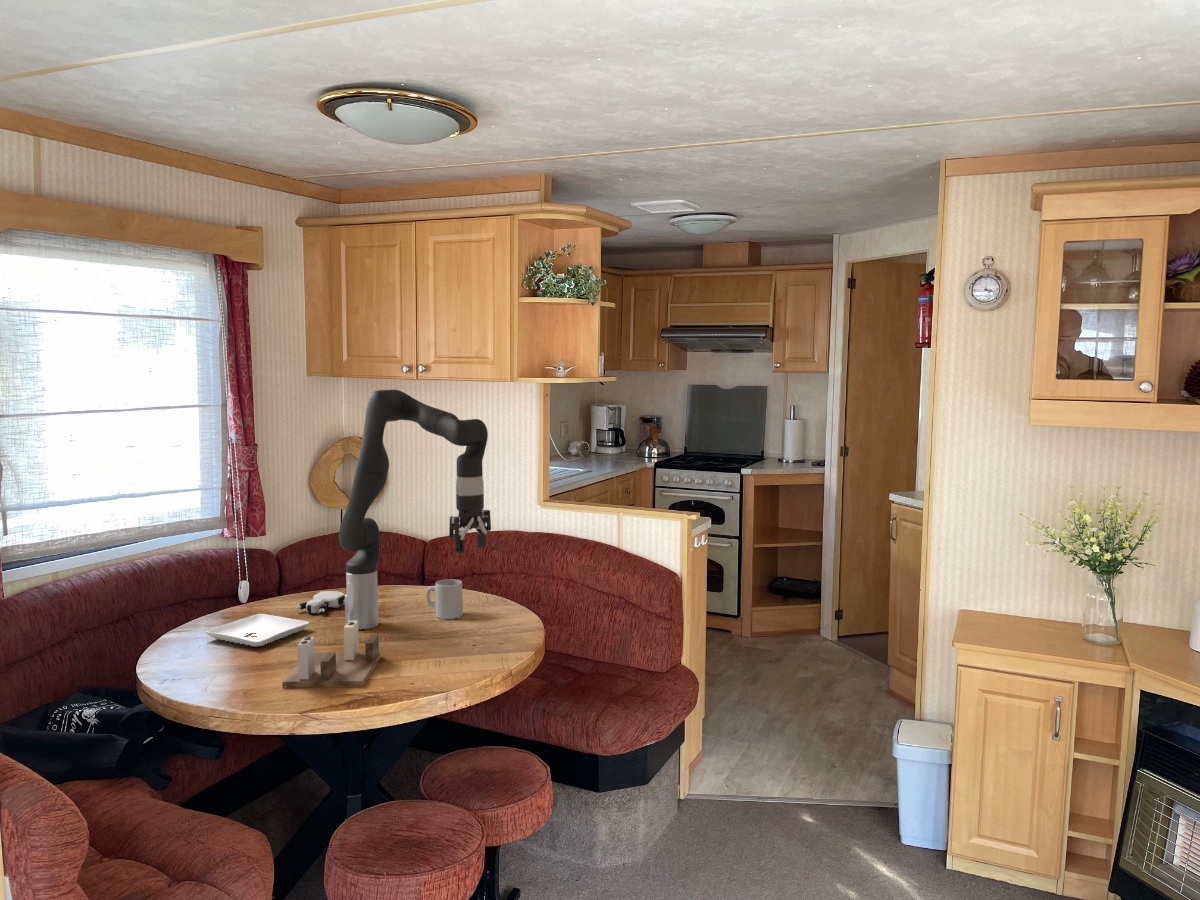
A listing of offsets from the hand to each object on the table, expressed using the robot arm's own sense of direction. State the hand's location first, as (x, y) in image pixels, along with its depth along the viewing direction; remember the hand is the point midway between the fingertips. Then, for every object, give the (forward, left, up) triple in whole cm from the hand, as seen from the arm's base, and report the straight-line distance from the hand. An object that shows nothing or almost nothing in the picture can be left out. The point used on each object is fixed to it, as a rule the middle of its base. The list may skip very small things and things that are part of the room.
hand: (470, 550), depth 247 cm
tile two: (-20, -40, -28) cm, 53 cm away
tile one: (-22, -24, -27) cm, 43 cm away
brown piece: (-21, -32, -29) cm, 48 cm away
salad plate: (-63, -24, -30) cm, 74 cm away
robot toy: (-70, +5, -30) cm, 76 cm away
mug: (-32, +22, -30) cm, 49 cm away
